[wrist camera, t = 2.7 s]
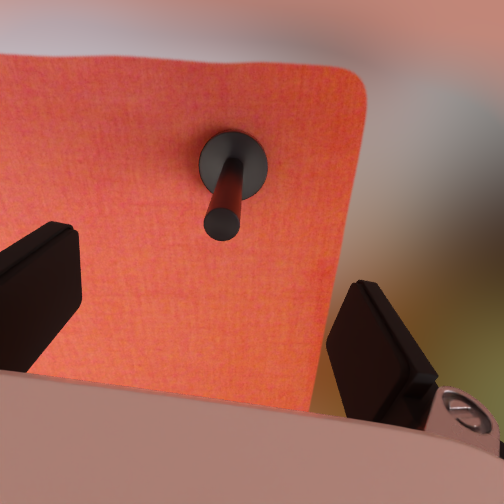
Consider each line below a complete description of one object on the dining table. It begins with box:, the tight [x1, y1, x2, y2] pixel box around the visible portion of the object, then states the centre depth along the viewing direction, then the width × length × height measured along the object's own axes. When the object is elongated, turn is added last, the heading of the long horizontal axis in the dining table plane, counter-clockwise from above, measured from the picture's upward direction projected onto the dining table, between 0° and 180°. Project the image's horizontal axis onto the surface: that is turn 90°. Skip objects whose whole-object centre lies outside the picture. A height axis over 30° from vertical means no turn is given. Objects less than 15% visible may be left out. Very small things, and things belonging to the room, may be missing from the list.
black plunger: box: [199, 130, 268, 241], centre depth 21 cm, size 6×6×14 cm
